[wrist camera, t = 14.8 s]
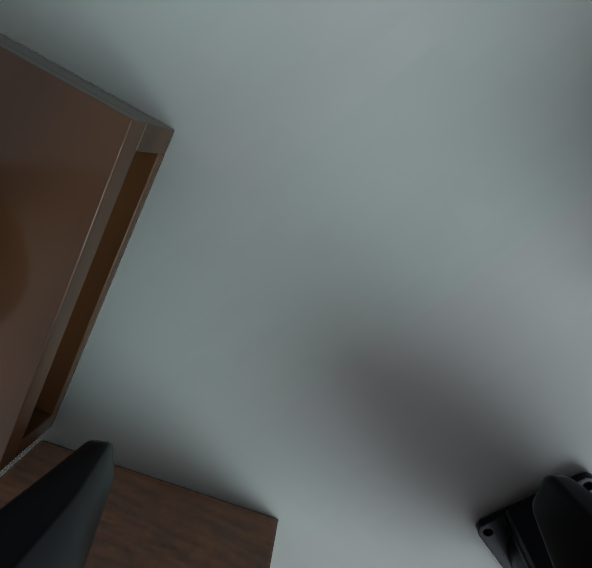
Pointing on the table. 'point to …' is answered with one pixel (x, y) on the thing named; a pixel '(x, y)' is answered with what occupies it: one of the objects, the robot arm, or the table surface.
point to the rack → (60, 226)
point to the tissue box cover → (158, 521)
